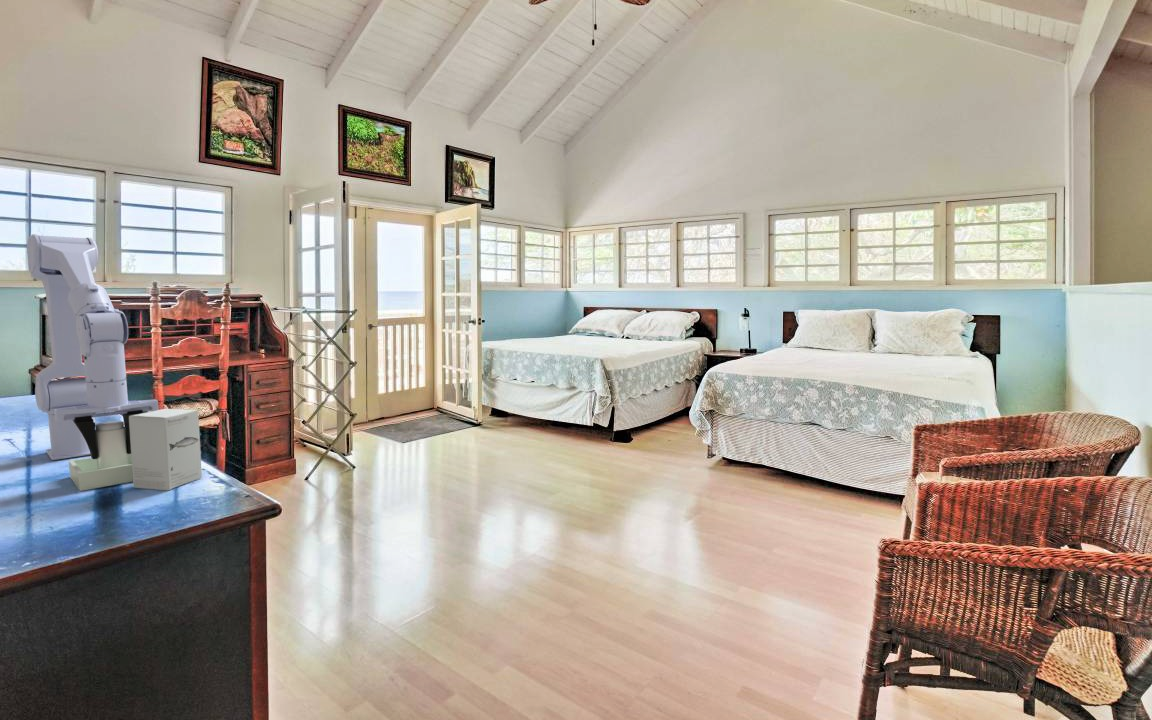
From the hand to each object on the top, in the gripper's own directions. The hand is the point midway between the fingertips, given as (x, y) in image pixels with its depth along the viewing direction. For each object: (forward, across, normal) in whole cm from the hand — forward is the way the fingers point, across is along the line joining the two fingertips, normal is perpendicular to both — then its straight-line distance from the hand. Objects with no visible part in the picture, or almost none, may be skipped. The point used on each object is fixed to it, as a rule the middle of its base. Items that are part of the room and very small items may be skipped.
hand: (112, 455), depth 109 cm
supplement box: (+4, +6, -11) cm, 13 cm away
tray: (+4, 0, 0) cm, 4 cm away
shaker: (+2, 0, 0) cm, 2 cm away
